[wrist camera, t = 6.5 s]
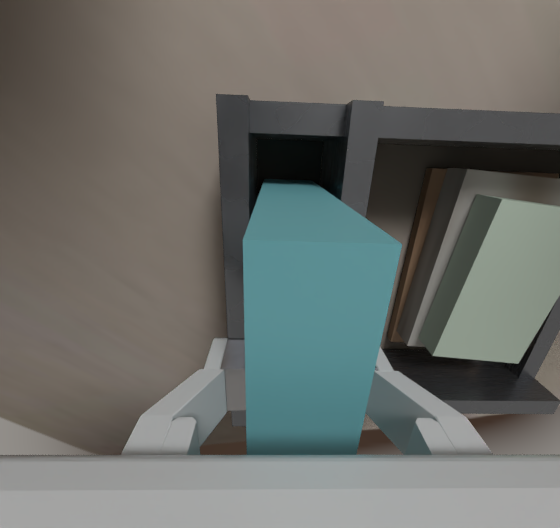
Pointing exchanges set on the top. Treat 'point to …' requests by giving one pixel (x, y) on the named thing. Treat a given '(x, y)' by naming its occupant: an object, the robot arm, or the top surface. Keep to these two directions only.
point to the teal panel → (311, 319)
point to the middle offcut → (448, 227)
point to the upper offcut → (497, 282)
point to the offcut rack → (355, 193)
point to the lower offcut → (418, 235)
